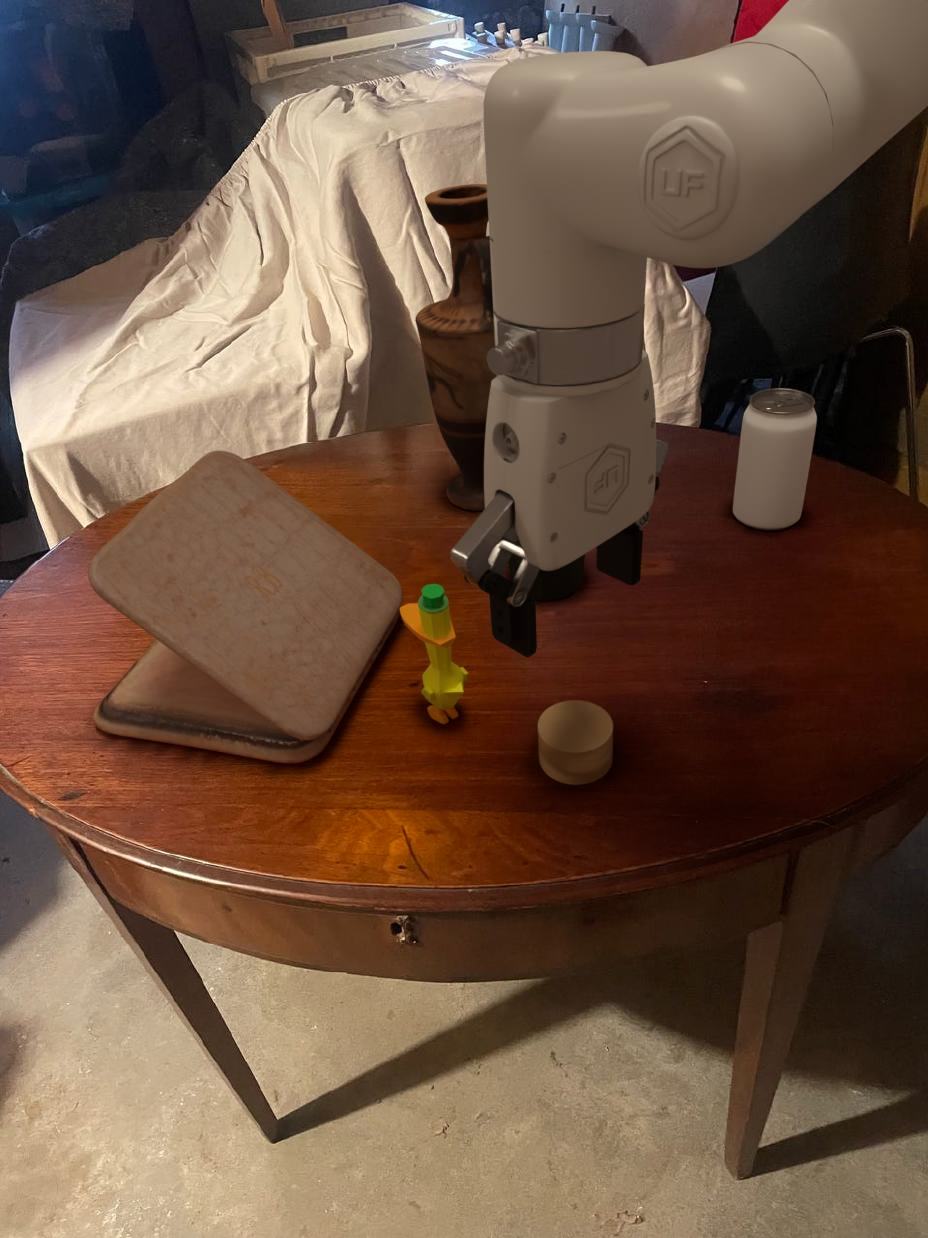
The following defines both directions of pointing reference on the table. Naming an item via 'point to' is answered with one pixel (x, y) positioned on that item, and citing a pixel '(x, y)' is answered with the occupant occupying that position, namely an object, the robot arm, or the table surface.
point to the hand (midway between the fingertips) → (568, 609)
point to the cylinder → (575, 742)
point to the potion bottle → (552, 579)
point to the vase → (462, 339)
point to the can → (774, 458)
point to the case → (240, 616)
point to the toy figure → (436, 651)
